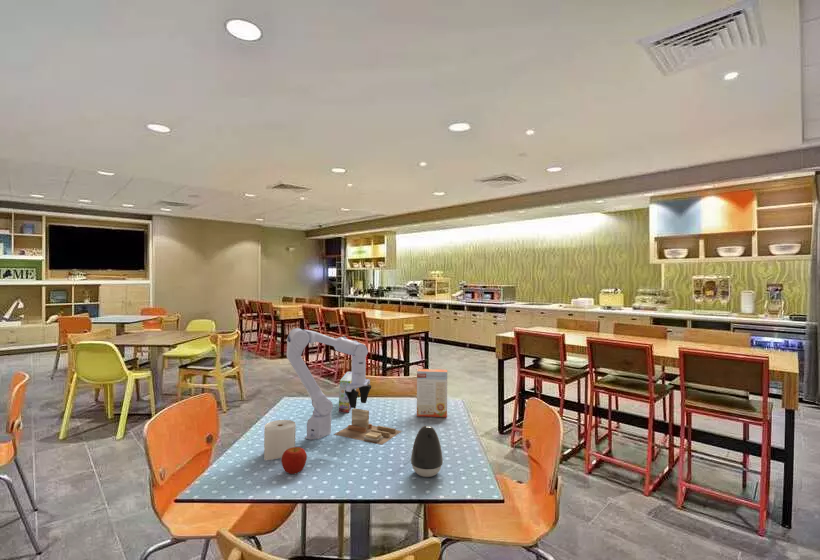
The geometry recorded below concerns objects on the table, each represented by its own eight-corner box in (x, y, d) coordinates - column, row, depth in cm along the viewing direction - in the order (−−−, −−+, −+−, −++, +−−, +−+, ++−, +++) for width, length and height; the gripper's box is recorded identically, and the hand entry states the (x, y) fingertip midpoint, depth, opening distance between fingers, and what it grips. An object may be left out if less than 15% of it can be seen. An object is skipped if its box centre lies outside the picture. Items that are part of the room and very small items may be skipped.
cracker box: (447, 413, 195) (447, 369, 195) (447, 418, 189) (447, 371, 189) (417, 412, 196) (417, 368, 196) (416, 416, 190) (416, 370, 190)
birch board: (366, 430, 168) (366, 412, 168) (351, 427, 171) (351, 409, 171) (368, 429, 170) (368, 410, 170) (354, 426, 173) (354, 408, 173)
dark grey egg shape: (416, 483, 127) (416, 433, 127) (407, 468, 137) (407, 422, 137) (447, 479, 130) (448, 430, 130) (436, 465, 140) (437, 419, 140)
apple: (296, 464, 139) (297, 441, 139) (311, 471, 134) (312, 447, 134) (276, 472, 133) (276, 447, 133) (291, 480, 128) (291, 454, 128)
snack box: (350, 413, 194) (350, 380, 194) (338, 412, 194) (338, 380, 194) (356, 400, 215) (357, 371, 215) (345, 400, 215) (346, 370, 216)
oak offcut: (376, 439, 156) (376, 436, 156) (365, 437, 158) (365, 434, 158) (381, 436, 159) (381, 433, 159) (370, 434, 161) (370, 431, 161)
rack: (381, 447, 153) (382, 440, 153) (333, 437, 163) (333, 430, 163) (402, 434, 168) (402, 427, 168) (356, 425, 178) (356, 418, 178)
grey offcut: (377, 442, 155) (377, 439, 155) (364, 439, 158) (364, 437, 158) (382, 439, 159) (383, 436, 159) (369, 436, 162) (369, 433, 162)
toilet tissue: (295, 445, 154) (295, 418, 155) (295, 459, 143) (295, 429, 143) (265, 448, 152) (265, 420, 152) (262, 462, 140) (262, 432, 140)
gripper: (356, 376, 163) (356, 411, 163) (376, 369, 176) (376, 402, 176) (342, 374, 166) (341, 408, 166) (362, 368, 179) (362, 399, 179)
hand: (358, 405), depth 171 cm, fingers open, 7 cm apart
